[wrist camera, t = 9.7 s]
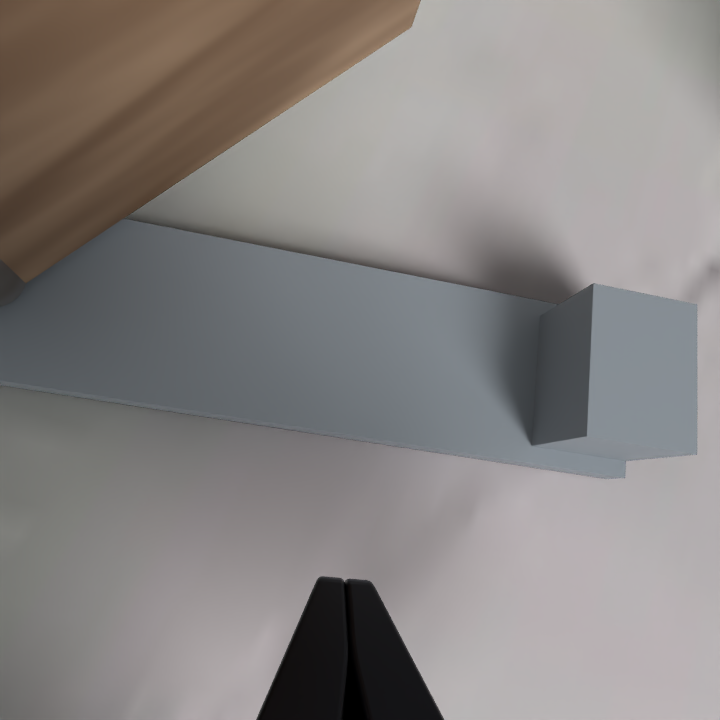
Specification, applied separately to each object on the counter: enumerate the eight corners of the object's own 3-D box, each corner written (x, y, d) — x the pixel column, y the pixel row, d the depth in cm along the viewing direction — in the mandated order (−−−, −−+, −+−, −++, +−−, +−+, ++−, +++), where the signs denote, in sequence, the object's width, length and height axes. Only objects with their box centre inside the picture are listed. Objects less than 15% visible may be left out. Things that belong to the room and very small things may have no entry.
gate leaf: (415, 31, 20) (549, -339, 11) (-16, 320, 15) (-359, 92, 7) (382, -5, 20) (489, -401, 11) (-56, 272, 15) (-445, -14, 7)
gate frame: (606, 478, 19) (697, 474, 15) (-196, 354, 16) (-339, 309, 12) (611, 326, 20) (697, 286, 16) (-133, 182, 17) (-244, 90, 13)
